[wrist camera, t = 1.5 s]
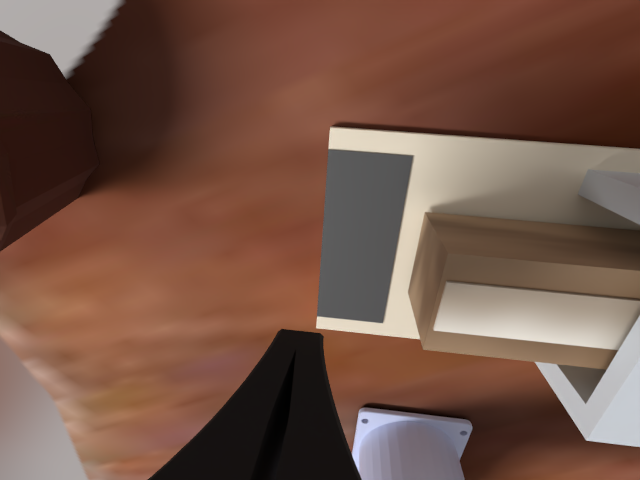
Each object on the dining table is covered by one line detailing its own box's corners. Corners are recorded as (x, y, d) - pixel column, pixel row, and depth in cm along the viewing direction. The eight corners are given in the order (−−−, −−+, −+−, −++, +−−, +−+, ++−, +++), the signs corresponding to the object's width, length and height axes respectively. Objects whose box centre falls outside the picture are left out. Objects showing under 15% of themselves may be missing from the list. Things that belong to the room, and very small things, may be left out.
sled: (771, 328, 17) (900, 403, 13) (407, 292, 18) (423, 351, 14) (838, 247, 15) (1017, 307, 11) (424, 211, 16) (448, 254, 12)
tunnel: (794, 373, 19) (999, 507, 13) (317, 322, 21) (302, 421, 15) (986, 174, 14) (1468, 242, 8) (330, 126, 16) (316, 153, 10)
